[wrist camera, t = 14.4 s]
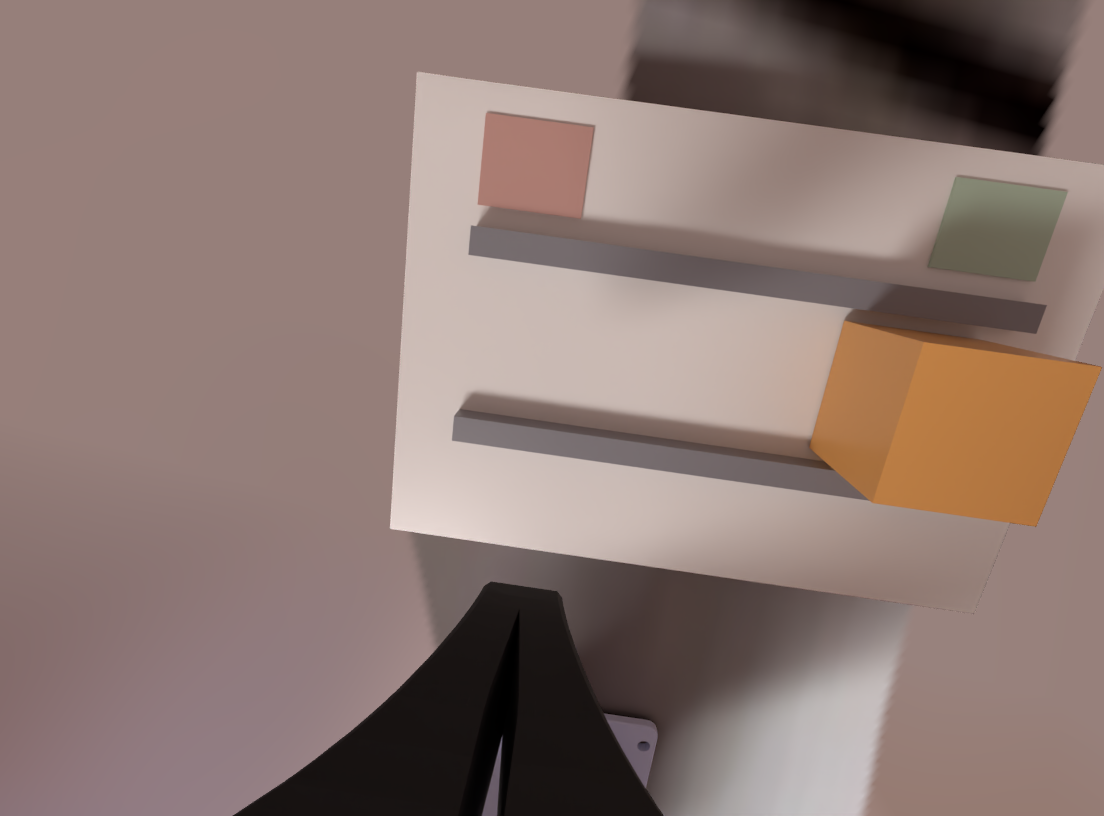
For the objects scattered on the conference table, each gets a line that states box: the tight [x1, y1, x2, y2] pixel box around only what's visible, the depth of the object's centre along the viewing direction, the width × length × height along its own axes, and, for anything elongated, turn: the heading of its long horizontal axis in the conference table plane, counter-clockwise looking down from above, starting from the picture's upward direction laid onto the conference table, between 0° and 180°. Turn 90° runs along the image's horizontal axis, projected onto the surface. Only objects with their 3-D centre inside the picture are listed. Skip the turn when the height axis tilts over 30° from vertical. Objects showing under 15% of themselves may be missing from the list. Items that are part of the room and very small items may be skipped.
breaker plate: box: [390, 72, 1104, 614], centre depth 18 cm, size 14×20×3 cm
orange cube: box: [809, 321, 1102, 527], centre depth 15 cm, size 4×4×4 cm
